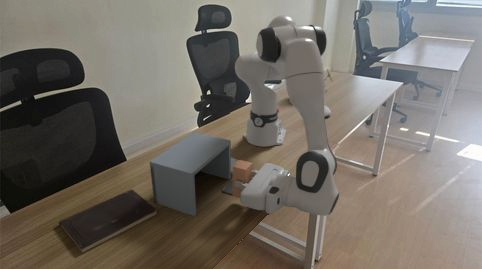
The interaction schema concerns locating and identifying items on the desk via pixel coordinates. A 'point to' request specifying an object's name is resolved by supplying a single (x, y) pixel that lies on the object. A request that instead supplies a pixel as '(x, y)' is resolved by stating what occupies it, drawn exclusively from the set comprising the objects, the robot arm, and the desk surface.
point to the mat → (229, 188)
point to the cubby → (188, 169)
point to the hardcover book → (107, 219)
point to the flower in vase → (326, 109)
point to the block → (241, 175)
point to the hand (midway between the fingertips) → (239, 177)
